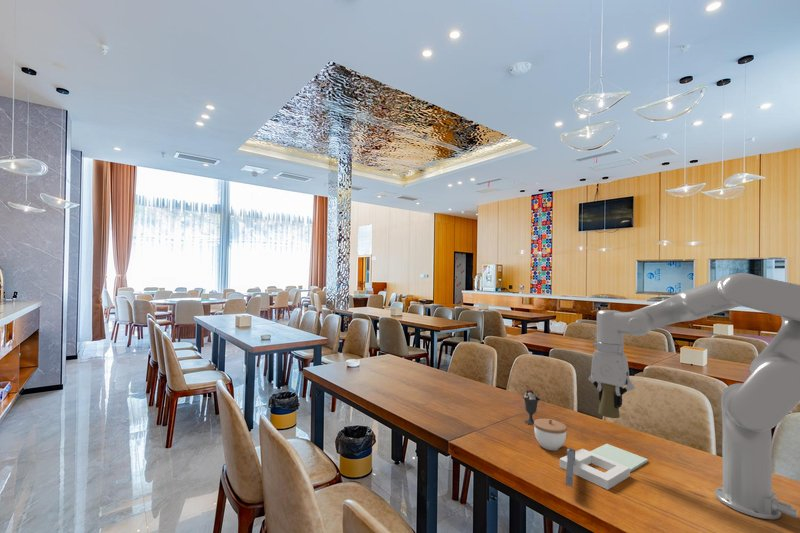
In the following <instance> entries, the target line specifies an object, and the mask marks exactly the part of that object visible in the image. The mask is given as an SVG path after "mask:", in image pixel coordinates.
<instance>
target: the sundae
mask: <svg viewBox="0 0 800 533" xmlns="http://www.w3.org/2000/svg"><path fill="white" fill-rule="evenodd" d="M525 387H526V391H525V393H524V395H523V396H522V398H523V400H524V405H525V406H524V407H525V411H526V413H528V416H529V417H528V419H526V420H524V421H525V422H526V423H525V422H524V423H525V424H527V423H528V424H527V425H530V424H534V421H535V420H534V419H533V415H534V414H535V413H536V412H537V409H538V403H539V401H541V399H540V397H539V395H540V394H539V393H538V395H537V393H535V391H533V390H531V389H530V387H529V386H528V385H525Z"/></svg>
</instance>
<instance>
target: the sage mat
mask: <svg viewBox="0 0 800 533" xmlns="http://www.w3.org/2000/svg"><path fill="white" fill-rule="evenodd" d="M589 451H590V452H592V453H595V454H597V455H599V456H602V457H604V458H607V459H609V460H612V461H614V462H617V463H619V464H622V465H624V466H626V467H629V468H630V473H631V472H633V471H635V470H636V469H638V468H640V467H642V466H643V465H645V464H646V463H648V462H649V459H648V458H645V457H644V456H642V455H641V456H640V455H638V454H636V453H634V452H633V453H632V452H630V451H627V450H625V449H622V448H619V447H617V446H614V445H611V444H609V443H605V444H603V445H601V446H598V447H596V448H595V449H594V448H593V449H592V450H589Z"/></svg>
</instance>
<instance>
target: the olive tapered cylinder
mask: <svg viewBox="0 0 800 533" xmlns="http://www.w3.org/2000/svg"><path fill="white" fill-rule="evenodd" d="M601 388H602V389H603V390H602V398H601V403H600V402H599V406H598V411H597V412H598V414H599V415H601V416H602V417H605V418H610V419H619V418H620V417H621V415H620V407H619V408H615V407H614V395H616V390H615V389H616V387H615V386H612V385H608V384H603V383H601Z"/></svg>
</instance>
